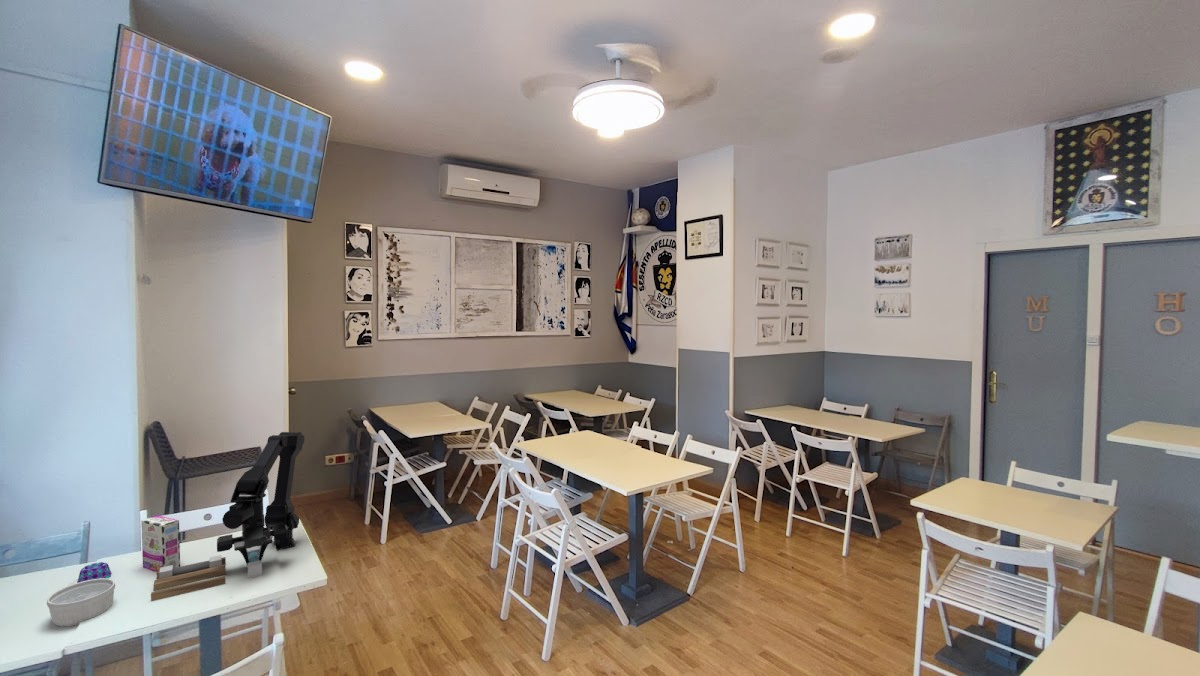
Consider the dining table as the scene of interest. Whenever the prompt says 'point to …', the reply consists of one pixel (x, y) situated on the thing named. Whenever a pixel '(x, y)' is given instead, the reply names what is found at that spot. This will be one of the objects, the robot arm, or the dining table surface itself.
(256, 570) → the grey and teal bar
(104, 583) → the ramekin
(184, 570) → the grey white-ended bar
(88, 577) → the purple spotted rounded lump
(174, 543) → the candy bar box
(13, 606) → the dining table surface
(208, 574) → the walnut rack
